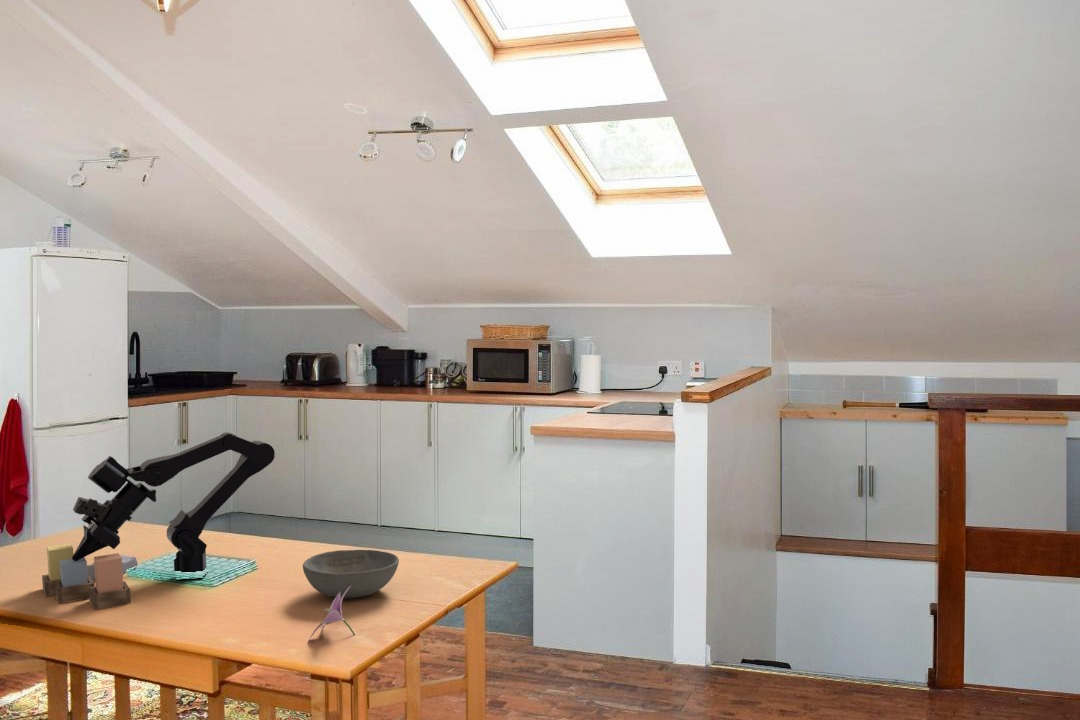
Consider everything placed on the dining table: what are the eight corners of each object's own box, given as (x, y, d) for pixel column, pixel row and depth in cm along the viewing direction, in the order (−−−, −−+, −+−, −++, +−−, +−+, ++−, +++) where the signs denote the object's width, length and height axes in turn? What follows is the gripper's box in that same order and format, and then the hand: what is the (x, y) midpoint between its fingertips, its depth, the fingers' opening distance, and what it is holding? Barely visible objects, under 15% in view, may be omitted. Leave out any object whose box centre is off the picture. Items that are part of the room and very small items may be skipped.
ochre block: (72, 574, 221) (70, 543, 221) (74, 579, 217) (73, 547, 217) (48, 578, 219) (46, 546, 218) (50, 583, 214) (48, 550, 214)
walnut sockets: (114, 577, 227) (113, 564, 227) (130, 603, 206) (130, 589, 206) (42, 588, 219) (42, 575, 219) (52, 617, 198) (51, 602, 198)
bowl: (297, 588, 215) (295, 554, 214) (386, 576, 223) (385, 542, 222) (313, 615, 195) (311, 577, 195) (410, 600, 203) (409, 564, 203)
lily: (349, 625, 191) (323, 587, 190) (386, 612, 185) (360, 572, 184) (311, 662, 181) (284, 622, 180) (349, 650, 175) (321, 608, 174)
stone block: (76, 588, 226) (112, 581, 224) (71, 568, 226) (107, 561, 224) (107, 575, 238) (142, 569, 236) (103, 557, 238) (138, 550, 236)
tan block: (120, 586, 211) (118, 553, 210) (123, 591, 206) (121, 557, 206) (95, 590, 208) (93, 556, 208) (98, 595, 204) (96, 561, 203)
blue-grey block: (85, 589, 216) (84, 557, 216) (88, 594, 212) (86, 561, 211) (61, 592, 213) (59, 560, 213) (63, 598, 209) (62, 565, 209)
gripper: (89, 478, 222) (39, 531, 217) (101, 490, 206) (47, 547, 201) (127, 506, 227) (79, 559, 221) (141, 520, 211) (90, 577, 206)
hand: (73, 559), depth 212 cm, fingers closed, pressing on blue-grey block
